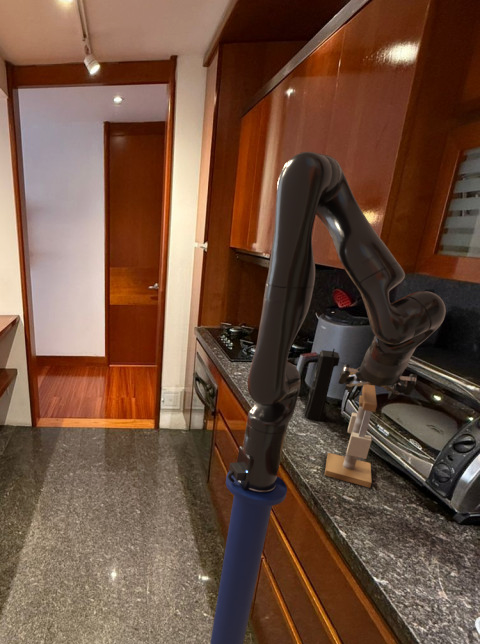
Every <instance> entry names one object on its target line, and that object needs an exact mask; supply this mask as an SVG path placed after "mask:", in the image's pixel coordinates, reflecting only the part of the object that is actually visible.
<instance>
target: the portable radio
mask: <svg viewBox="0 0 480 644" xmlns="http://www.w3.org/2000/svg"><path fill="white" fill-rule="evenodd" d="M335 350H336V349H335V348H333V349H332V350H323V349H322V350H321V351H320V352H319V354H318V359H317V362H316V367H315V371H314V378H313V381H312V383H311V385H310V387H309V393H308V396H307V399H306V403H305V406H304V410H303V411H304V413H303V414H304V415H303V416H304V417H305V418H306V419H307V420H313V421H319V422H320V421H321V422H324V421H325V420H326V415H327V409H326V402H327V399H328V398H327V397H328V393H329V388H330V384H331V381H332V378H333V377H332V376H333V373H334V368H335V367H338V366H339V363H340V359H341V358H340V354H339V352H338V351H335Z"/></svg>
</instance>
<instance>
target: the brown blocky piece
mask: <svg viewBox="0 0 480 644" xmlns="http://www.w3.org/2000/svg"><path fill="white" fill-rule="evenodd" d="M361 396H362V402H363V410H365V413H364V417H363V420H362V424H361V428H360V431H359V433H354V432H352V431H353V427H354V424H355V420H356V417H357V413H358V412H351V415H350V419H349V423H348V427H347V433H348V434H350V437H349V441H348V444H347V449H346V452H347V455H351V456H355V457H358V458H360V459H364V460H366V459H367V458H368V455H369V451H370V449H371V448H370V447H371V445H372V441H373V440H372V435H367V431H368V429H369V424H370V421H371V417H372V412H373V413H376V410H377V407H378V402H377V392H376V386H375V385H367V384H366V385H362V388H361Z"/></svg>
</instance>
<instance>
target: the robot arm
mask: <svg viewBox="0 0 480 644" xmlns="http://www.w3.org/2000/svg"><path fill="white" fill-rule="evenodd" d="M277 180H278V181H277V185H276V198H275V215H274V231H273V239H272V245H271V249H270V250H271V252H270V258H269V264H268V266H269V267H268V270H267V272H268V273H267V276H266V281H265V288H264V294H263V302H262V309H261V316H260V321H259V327H258V334H257V341H256V346H255V350H254V353H253V357H252V361H251V365H250V367H249V372H248V376H247V384H246V385H247V386H246V387H247V391H248V395H249V396H250V398H251V400H252V401H254V402H255V403H254V404H253V405H252V407H251V408H250V409H249V411H248V412H247V417H246V423H245V430H244V436H243V442H242V446H239V447H238V451H237V458H236V462H229V469H228V472H229V471H230V473H229V475H228V478H229V480H230V481H231V482H232V483H233V482H235V480H234V479H233V478H232V477H231V476H232V475H233V476H234V478H235V479H236V481H238V482H239V484H240V485H241V486H242V488H243V489H244V490H249V491H252V492H256V493H270V492H272V491H273V490H274V489H275V487H276V480H277V477H278V475H279V470H280V464H281V460H282V455H283V450H284V445H285V440H286V436H287V431H288V427H289V423H290V422H291V420H292V418H293V416H294V413H295V410H296V406H297V402H298V398H299V395H300V389H301V384H302V383H301V375H300V372H299V370H298V368H297V367H296V366H295V365H294V364H293V363H291V362H289V361H288V359H289V355H290V350H291V348H292V345H293V343H294V341H295V339H296V337H297V335H298V333H299V331H300V329H301V327H302V326H303V324H304V321H305V319H306V317H307V315H308V312H309V309H310V306H311V302H312V298H313V292H314V288H315V283H316V262H315V257H314V249H313V229H314V224H315V220H316V217H317V218H318V219H319V220H320V221H321V222H322V224H323V225H324V226H325V228H326V230H327V231H328V233H329V235H330V237H331V240H332V243H333V246H334V249H335V252H336V255H337V257H338V259H339V260H338V261H339V262H340V264H341V267H343V269H344V271H345V272H346V274H347V276H348V277H349V278H350V280H351V281H352V283H353V284H354V286H355V287H356V289H357V290H358V292H359V294H360V297H361V299H362V302H363V304H364V309H365V311H366V315H367V318H368V322H369V326H370V329H371V332H372V333H373V335H374V336H373V338H372V341H371V344H370V345H369V347H368V348H367V350H366V352H365V355H364V357H363V359H362V362H361V364H360V366H359V367H357V368H353V367H351V365H350V364H347V363H346V364H344V365H343V367H342V369H341V371H340V373H339V378H338V385H344V384H345V387H344V390H345V391H347V393H352V390H353V388H354V387H355V386H356V387H363V385H366V384H367V385H374V386H375V387H381V388H383V389H385V390H386V391H387V392H388V396H387V400H390V401H391V400H393V399H397V397H398V396H399V395H400V394H403V395H404V396H410V395H411V394H412V392H413V390H414V389H415V387H416V385H417V379H418V378H417V376H418V375H417V374H416V373H415V374H414V373H410V374H409V376H403V374H404V372H405V370H407V368H408V366H409V363H410V360H411V357H412V356H413V354H414V352H415V351H416V349H417V348H418V346H420V345H421V344H422V343H423V342H425V341H426V340H427V339H428V338H429V337H430V336H431V335H432V334H433V333H435V332H436V331H437V330H438V329H439V328H440V327H441V325H442V324H443V322H444V320H445V317H446V311H447V309H446V305H445V302H444V301H443V299H442V298H441V297H440V296H439V295H438V294H436V293H434V292H431V291H426V290H420V291H416V292H412V293H410V294H408V295H405V296H404V297H402V298H399V299H398V300H396V301H393V302H390V291H391V290H393V289H394V288H395V287H397V286H398V285H399V284H401V283H402V282H403V281H404V279H405V278H406V273H405V271H404V269H403V267H402V266H401V265H400V263H399V262H398V261H397V259H396V258H395V256H394V255H393V253H392V252H391V251H390V249H389V247H388V246H387V245H386V244H385V242H384V241H383V240H382V238H381V237H380V235H379V234H378V233H377V231H376V230H375V229H374V227H373V226H372V225H371V223H370V222H369V220H368V219H367V216H366V215H365V214H364V212H363V211H362V209H361V207H360V205H359V203H358V202H357V200H356V197H355V195H354V193H353V191H352V189H351V187H350V185H349V184H350V183H349V182H348V180H347V177H346V175H345V173H344V171H343V169H342V166H341V164H340V163H339V161H338V160H337V159H336V158H334V157H333V156H331V155H327V154H323V153H320V152H314V151H302V152H299V153H297V154H295V155H293V156H292V157H291V158H289V160H288V161H287V162H286V163H285V164H284V166H283V168H282V169H281V171H280V174H279V177H278V179H277ZM401 383H402V384H401Z"/></svg>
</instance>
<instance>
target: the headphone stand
mask: <svg viewBox="0 0 480 644" xmlns="http://www.w3.org/2000/svg"><path fill="white" fill-rule="evenodd" d="M356 413H357V417H356V420H355V424H354V427H353V431H352V432H354V433H359V431H360V428H361V424H362V420H363V417H364V413H365V410H363V402H362V395H359V397H358V410H357V412H356ZM358 458H359V457H355V456H351V455H347V451H346V452H345V456H343V455H339V454H335V453H331V452H327V456H326V461H325V467H324V468H325V471H324V476H326V477H329V478H332V479H335V480H340V481H343V482H348V483H351V484H355V485H358V486H362V487H364V488H365V487H366V488H368V489H370V488H371V486H372V481H373V480H372V465H371V462H367V461H363V460H360V459H358Z"/></svg>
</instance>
